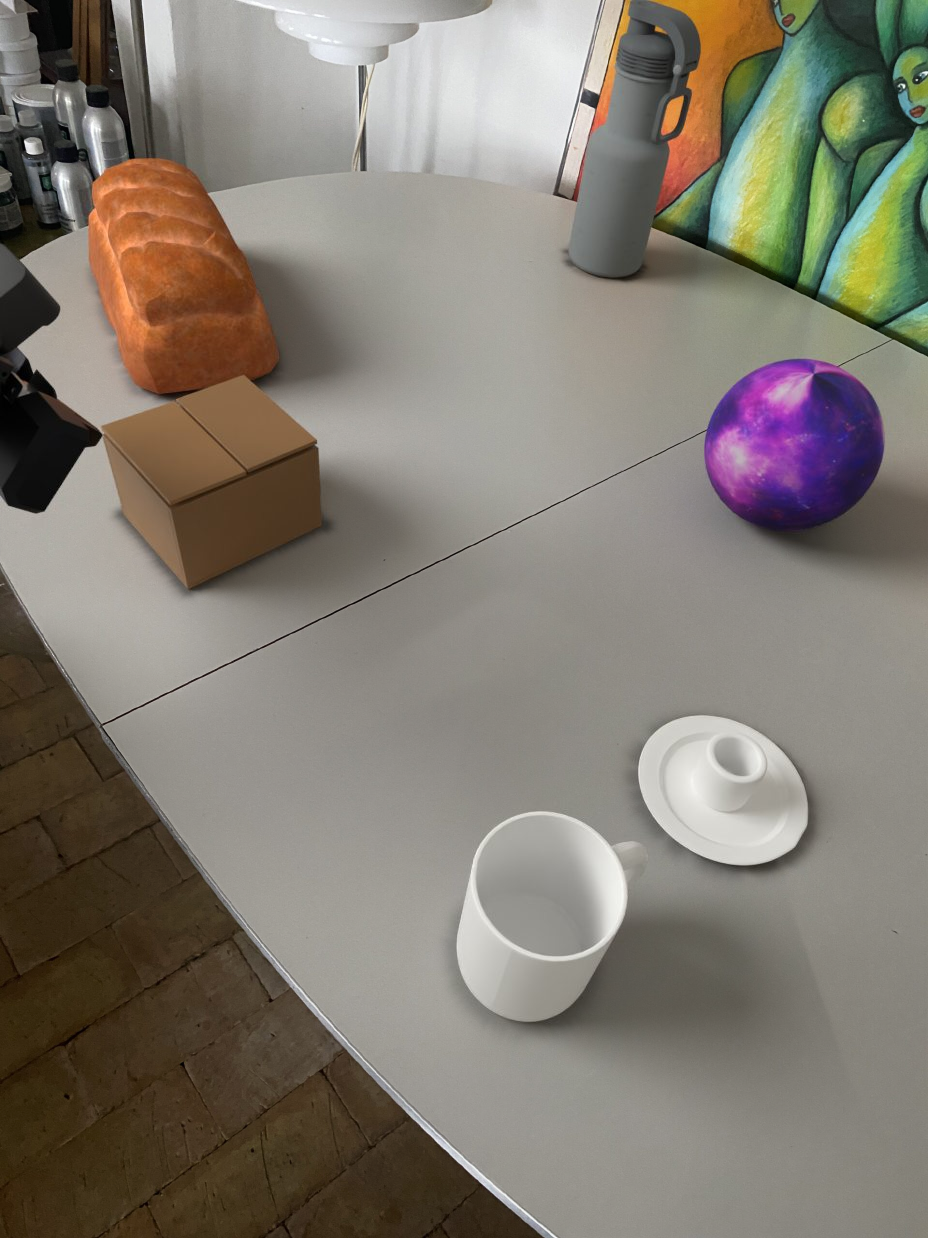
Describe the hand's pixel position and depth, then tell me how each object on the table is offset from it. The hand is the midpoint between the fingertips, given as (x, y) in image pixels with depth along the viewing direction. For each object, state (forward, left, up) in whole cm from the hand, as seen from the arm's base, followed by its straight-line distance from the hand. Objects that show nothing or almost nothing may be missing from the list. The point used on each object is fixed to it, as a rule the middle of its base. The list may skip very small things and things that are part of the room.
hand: (97, 437), depth 62 cm
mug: (+30, -33, -13) cm, 46 cm away
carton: (+7, +5, -12) cm, 15 cm away
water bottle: (+51, +55, -13) cm, 76 cm away
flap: (+4, +3, -4) cm, 6 cm away
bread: (-1, +39, -13) cm, 41 cm away
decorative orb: (+57, +7, -13) cm, 59 cm away
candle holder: (+44, -23, -13) cm, 51 cm away
